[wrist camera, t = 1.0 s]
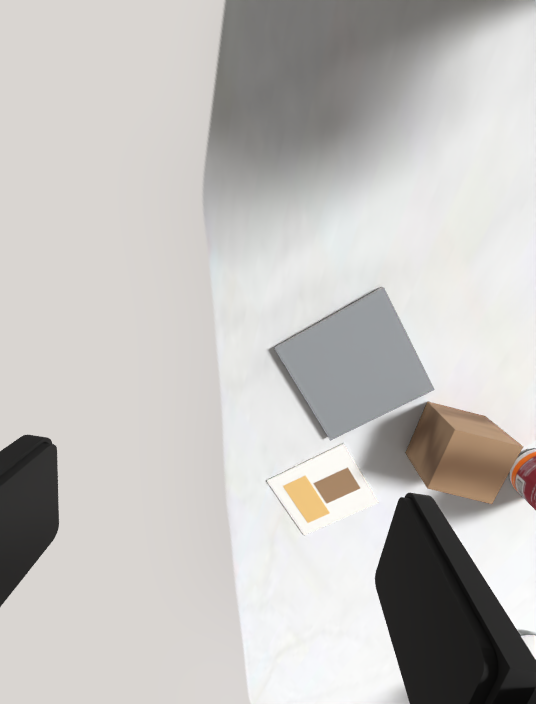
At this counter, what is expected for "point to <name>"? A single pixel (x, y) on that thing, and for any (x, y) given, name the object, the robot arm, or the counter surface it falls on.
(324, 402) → the slate plate
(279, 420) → the counter surface
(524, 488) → the pill bottle
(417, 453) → the walnut block
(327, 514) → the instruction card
